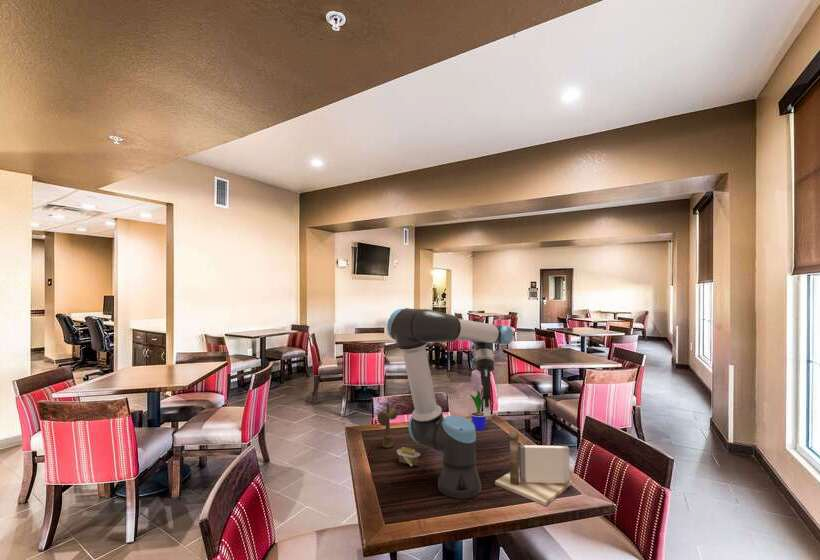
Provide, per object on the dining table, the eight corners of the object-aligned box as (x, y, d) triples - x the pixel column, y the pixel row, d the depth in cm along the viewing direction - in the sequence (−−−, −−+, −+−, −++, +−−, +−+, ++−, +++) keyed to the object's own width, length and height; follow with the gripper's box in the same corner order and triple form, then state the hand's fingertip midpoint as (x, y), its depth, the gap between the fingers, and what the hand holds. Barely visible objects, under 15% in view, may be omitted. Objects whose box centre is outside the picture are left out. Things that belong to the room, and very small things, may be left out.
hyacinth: (491, 431, 185) (491, 371, 186) (471, 431, 185) (471, 371, 186) (488, 425, 193) (488, 367, 195) (469, 425, 194) (468, 367, 195)
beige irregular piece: (421, 476, 138) (421, 459, 139) (380, 467, 146) (380, 450, 146) (433, 463, 149) (433, 447, 150) (394, 455, 157) (394, 440, 157)
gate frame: (545, 506, 118) (544, 444, 119) (495, 484, 132) (494, 429, 133) (571, 484, 132) (570, 429, 133) (523, 466, 146) (522, 417, 147)
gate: (520, 482, 130) (520, 447, 130) (519, 479, 132) (519, 445, 132) (569, 483, 129) (569, 448, 129) (567, 480, 131) (567, 446, 131)
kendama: (376, 449, 162) (376, 403, 163) (386, 441, 171) (386, 398, 172) (388, 451, 160) (388, 405, 161) (398, 443, 169) (398, 399, 170)
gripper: (494, 355, 155) (497, 412, 142) (492, 367, 166) (495, 421, 152) (476, 354, 156) (477, 411, 143) (476, 366, 167) (477, 420, 153)
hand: (487, 416), depth 148 cm, fingers closed
